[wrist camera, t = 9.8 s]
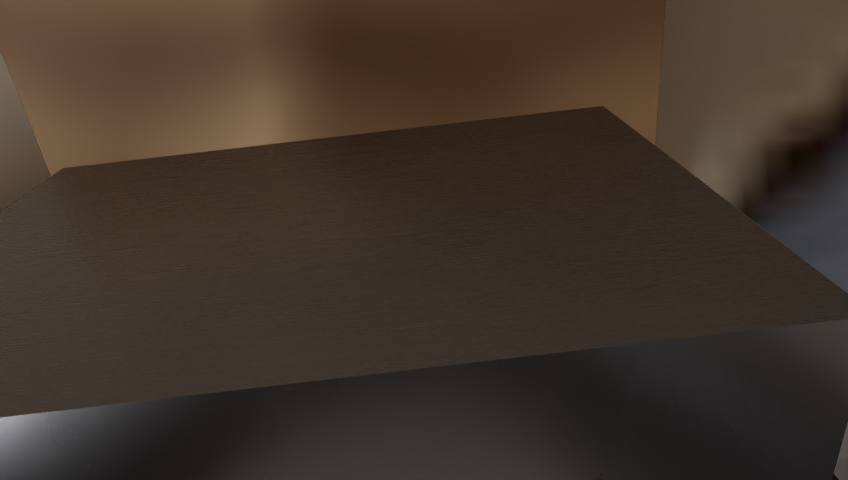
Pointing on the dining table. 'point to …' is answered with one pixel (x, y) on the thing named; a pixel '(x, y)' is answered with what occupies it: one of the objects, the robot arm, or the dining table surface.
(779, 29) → the dining table surface
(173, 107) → the board
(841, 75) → the dining table surface
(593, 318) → the grey square socket block
